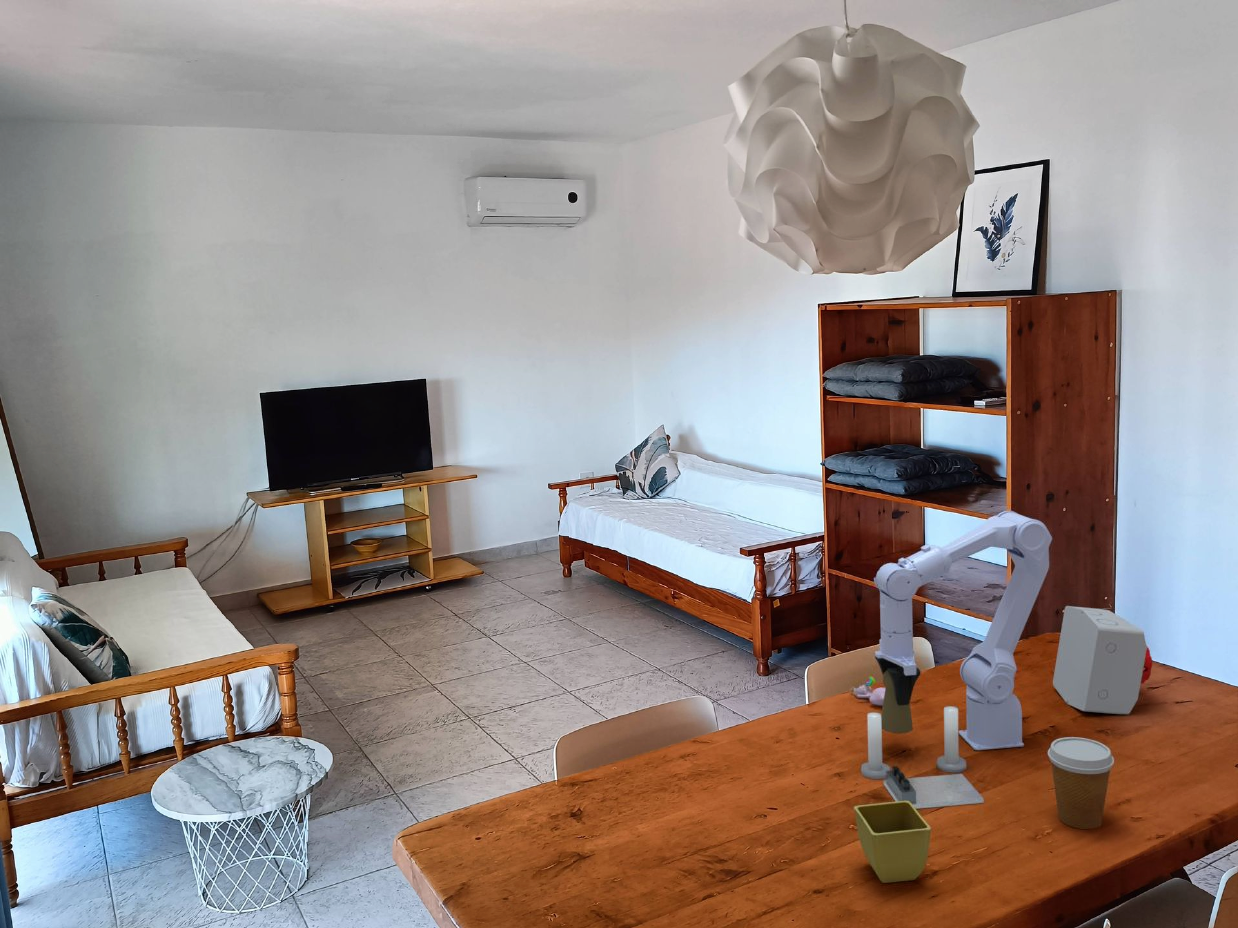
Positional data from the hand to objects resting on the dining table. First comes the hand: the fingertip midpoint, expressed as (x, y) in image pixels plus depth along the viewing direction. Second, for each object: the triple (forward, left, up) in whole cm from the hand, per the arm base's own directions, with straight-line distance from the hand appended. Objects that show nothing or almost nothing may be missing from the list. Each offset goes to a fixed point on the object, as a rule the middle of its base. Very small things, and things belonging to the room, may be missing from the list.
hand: (897, 698), depth 182 cm
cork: (0, 0, -6) cm, 6 cm away
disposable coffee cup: (-19, +29, -11) cm, 36 cm away
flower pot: (+15, +39, -11) cm, 43 cm away
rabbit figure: (-3, -22, -11) cm, 25 cm away
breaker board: (0, +17, -10) cm, 20 cm away
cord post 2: (-7, +8, -10) cm, 15 cm away
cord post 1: (+7, +8, -10) cm, 15 cm away
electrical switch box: (-48, -14, -11) cm, 52 cm away
